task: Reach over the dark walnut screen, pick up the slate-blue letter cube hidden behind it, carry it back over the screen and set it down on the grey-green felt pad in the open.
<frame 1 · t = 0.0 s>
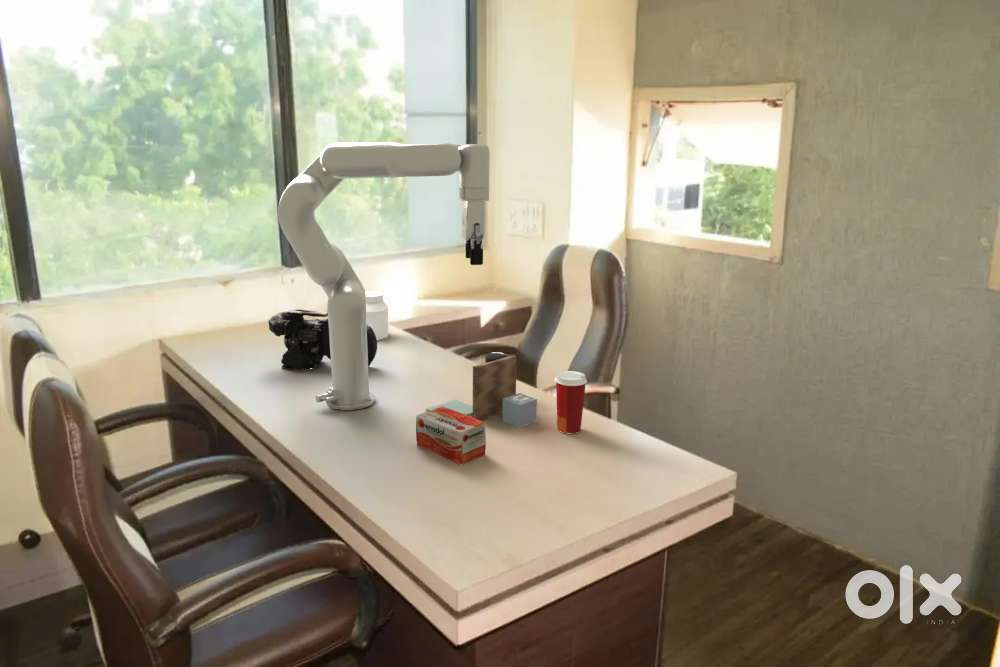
hand: (474, 261, 198), 37 cm above the table, tool pointing down, fingers open, 9 cm apart
medicine bottle: (496, 396, 209), on the table
paper cup: (568, 430, 187), on the table
movie camera: (322, 368, 231), on the table
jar: (372, 336, 265), on the table
pad: (453, 411, 198), on the table
letter cube: (519, 421, 192), on the table
screen: (494, 413, 197), on the table
medicine box: (451, 451, 175), on the table
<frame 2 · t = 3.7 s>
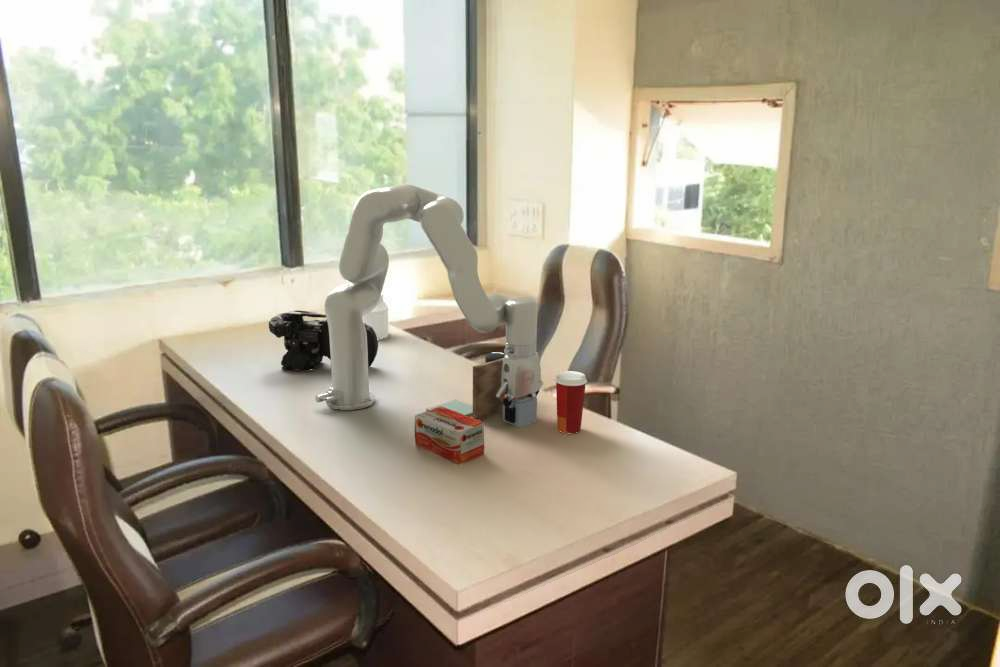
hand: (519, 417, 192), 1 cm above the table, tool pointing down, fingers closed on letter cube, 6 cm apart
letter cube: (519, 421, 192), on the table, touching gripper
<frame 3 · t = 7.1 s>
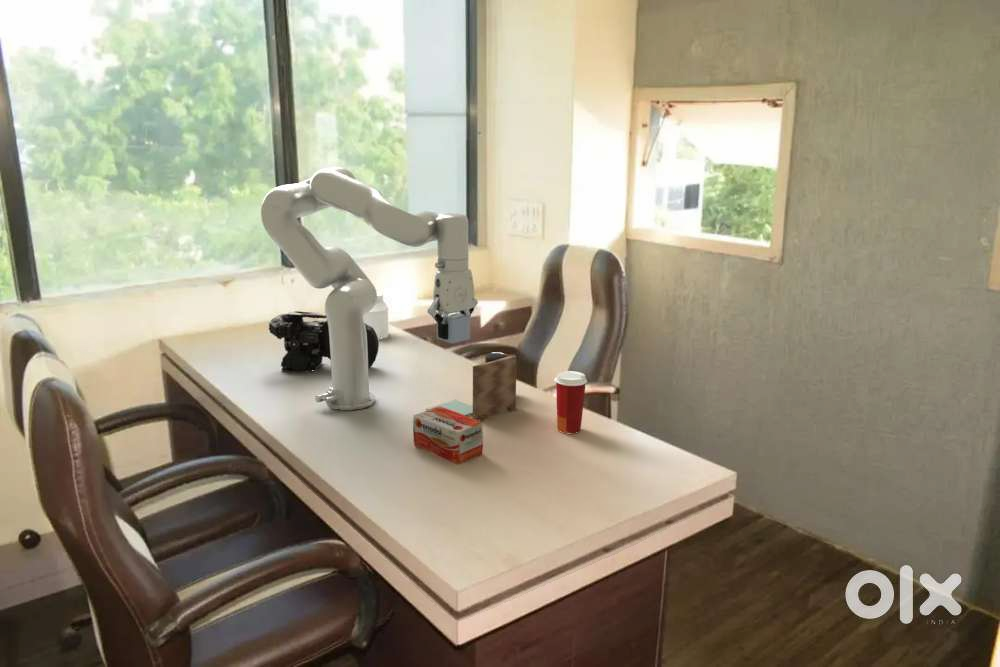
hand: (453, 335, 192), 20 cm above the table, tool pointing down, fingers closed on letter cube, 6 cm apart
letter cube: (453, 338, 193), point 19 cm above the table, touching gripper
when the fingers open (3 cm above the table, at t = 10.7 s): letter cube stays where it is, resting on pad.
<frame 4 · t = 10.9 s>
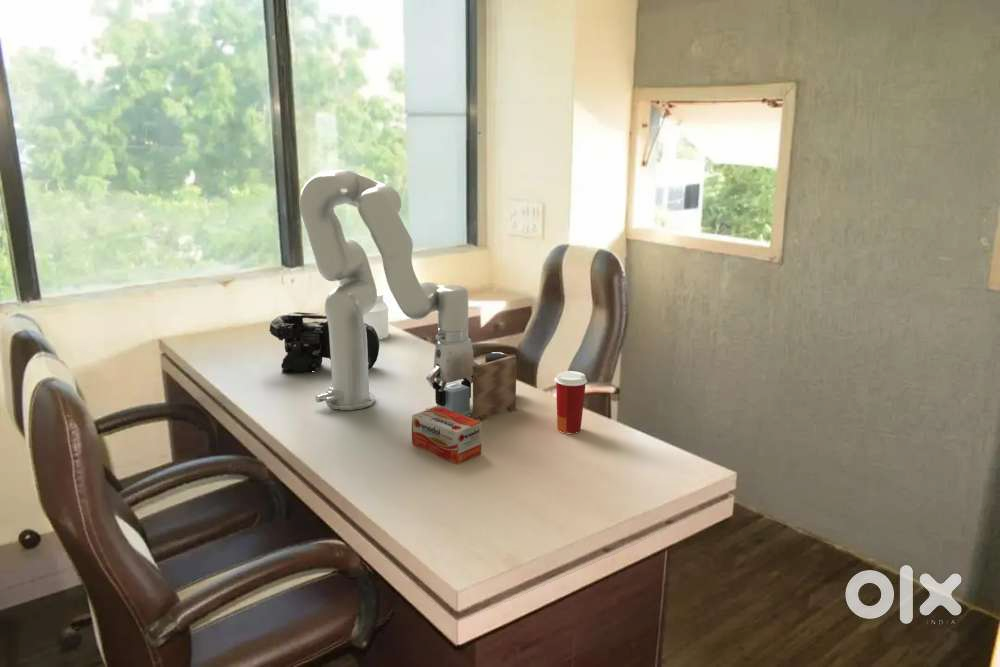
hand: (453, 400, 197), 3 cm above the table, tool pointing down, fingers open, 8 cm apart
letter cube: (453, 409, 198), point 1 cm above the table, touching pad
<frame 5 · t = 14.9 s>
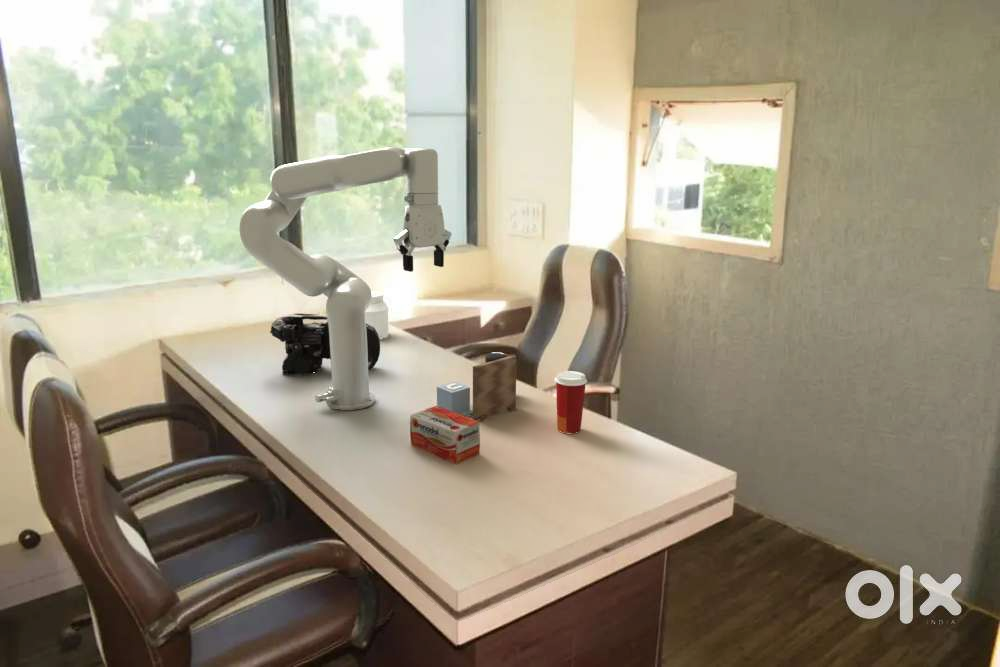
hand: (423, 268, 193), 36 cm above the table, tool pointing down, fingers open, 9 cm apart
at the end: letter cube inside the target area on the pad (0.0 cm from its centre), point 0.6 cm above the pad's base; letter cube tilted 0°; the gripper is holding nothing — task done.
